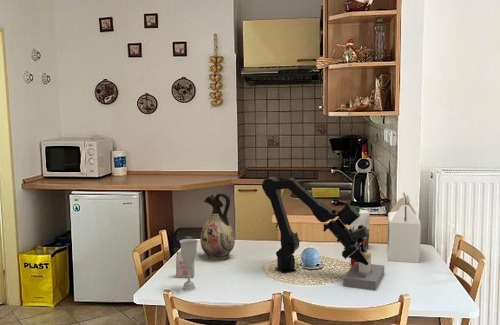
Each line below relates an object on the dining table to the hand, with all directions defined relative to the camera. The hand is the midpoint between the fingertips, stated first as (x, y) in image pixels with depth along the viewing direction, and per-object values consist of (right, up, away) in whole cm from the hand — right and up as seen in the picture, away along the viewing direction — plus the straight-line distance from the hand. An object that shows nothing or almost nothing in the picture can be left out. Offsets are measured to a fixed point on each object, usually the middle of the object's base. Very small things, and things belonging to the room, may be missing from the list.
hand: (368, 262), depth 212 cm
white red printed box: (-72, -6, +4) cm, 72 cm away
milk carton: (+6, -2, +49) cm, 50 cm away
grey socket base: (-1, -7, +1) cm, 7 cm away
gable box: (+24, -4, +37) cm, 44 cm away
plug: (-1, -7, +1) cm, 7 cm away
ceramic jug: (-60, -4, +31) cm, 68 cm away
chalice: (-69, -8, -10) cm, 70 cm away
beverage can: (0, -5, +20) cm, 21 cm away
